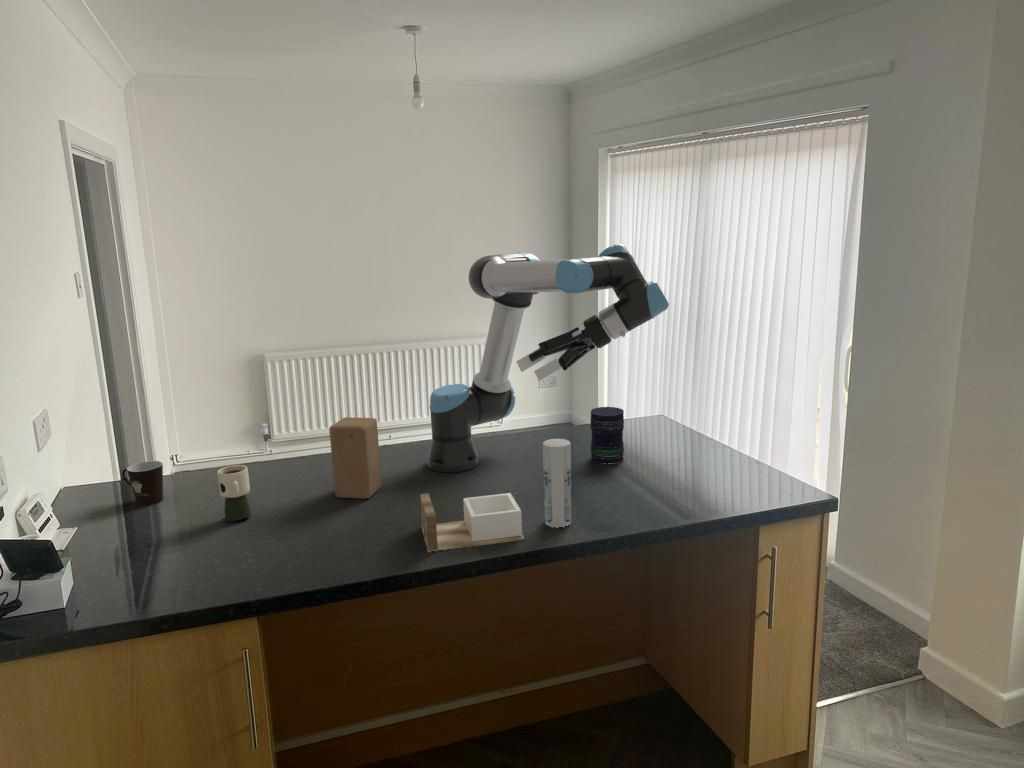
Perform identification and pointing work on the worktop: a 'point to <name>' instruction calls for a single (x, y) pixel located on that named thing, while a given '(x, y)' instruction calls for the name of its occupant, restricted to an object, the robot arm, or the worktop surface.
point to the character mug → (234, 491)
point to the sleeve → (492, 517)
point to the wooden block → (355, 457)
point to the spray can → (557, 482)
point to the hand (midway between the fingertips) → (528, 371)
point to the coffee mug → (146, 481)
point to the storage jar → (607, 435)
